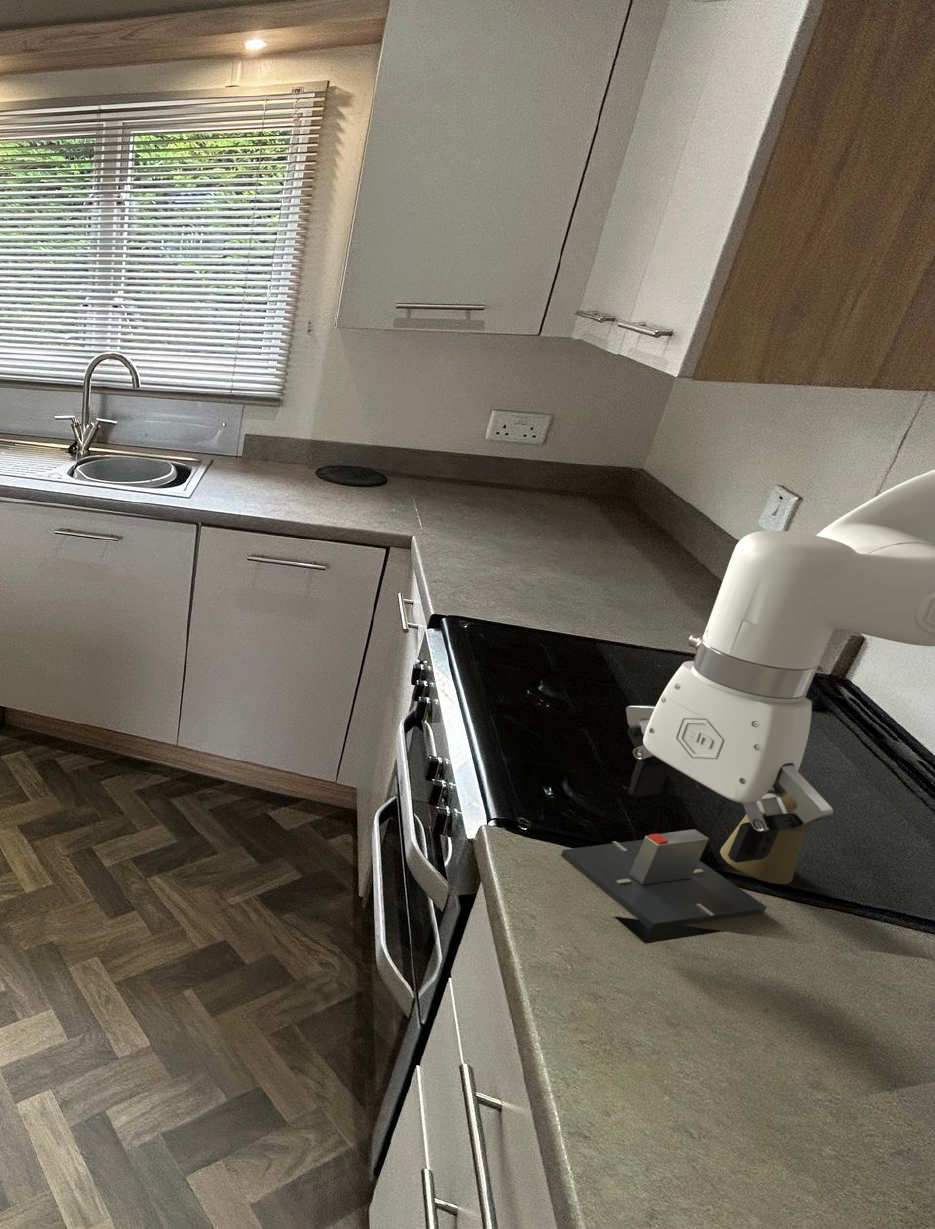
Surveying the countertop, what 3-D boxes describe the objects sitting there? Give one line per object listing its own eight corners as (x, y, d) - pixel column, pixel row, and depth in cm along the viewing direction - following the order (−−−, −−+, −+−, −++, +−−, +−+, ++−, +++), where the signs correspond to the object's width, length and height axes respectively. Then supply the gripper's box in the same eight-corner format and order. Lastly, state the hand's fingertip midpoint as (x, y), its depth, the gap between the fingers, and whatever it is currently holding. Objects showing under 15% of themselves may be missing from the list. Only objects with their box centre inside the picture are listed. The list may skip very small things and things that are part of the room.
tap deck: (656, 854, 83) (664, 834, 82) (758, 927, 73) (768, 906, 72) (555, 867, 80) (562, 847, 80) (646, 944, 71) (655, 923, 70)
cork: (762, 903, 76) (806, 815, 72) (697, 862, 81) (734, 778, 77) (803, 892, 78) (849, 805, 74) (736, 852, 83) (775, 769, 79)
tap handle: (677, 867, 77) (695, 826, 75) (691, 877, 76) (710, 836, 74) (629, 875, 76) (645, 833, 74) (642, 885, 75) (659, 843, 73)
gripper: (625, 632, 75) (579, 776, 81) (832, 724, 59) (756, 894, 65) (688, 626, 76) (639, 768, 82) (908, 714, 60) (827, 883, 66)
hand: (690, 824), depth 73 cm, fingers open, 9 cm apart
